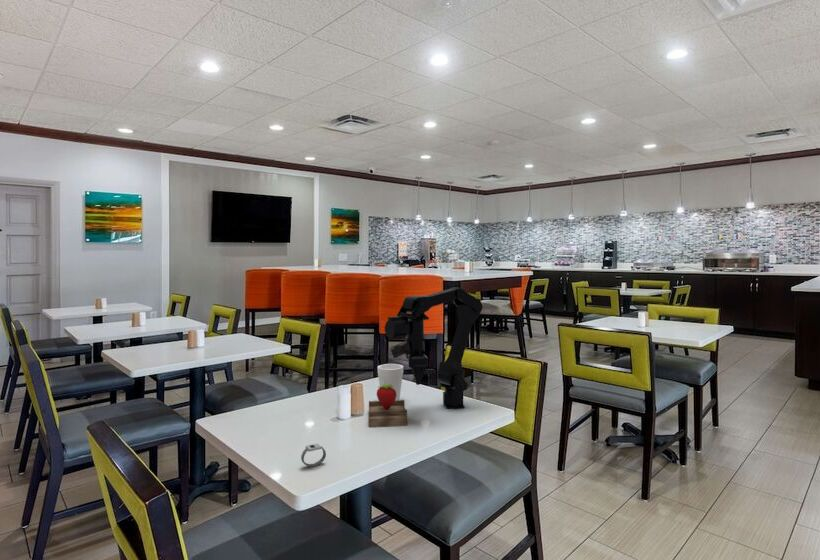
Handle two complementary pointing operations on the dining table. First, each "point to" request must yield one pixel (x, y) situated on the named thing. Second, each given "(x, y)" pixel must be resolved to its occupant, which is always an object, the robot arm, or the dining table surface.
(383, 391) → the strawberry
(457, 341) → the robot arm
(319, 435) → the dining table surface
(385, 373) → the foam cup
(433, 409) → the dining table surface
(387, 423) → the stand
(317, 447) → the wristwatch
